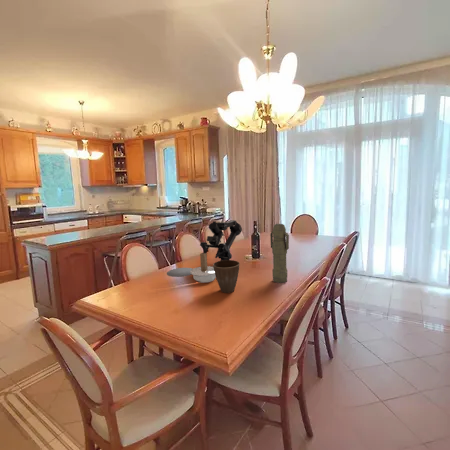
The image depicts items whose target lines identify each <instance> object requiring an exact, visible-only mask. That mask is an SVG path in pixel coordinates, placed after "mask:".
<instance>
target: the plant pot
mask: <svg viewBox="0 0 450 450" xmlns="http://www.w3.org/2000/svg"><path fill="white" fill-rule="evenodd" d="M212 267H214V272H215V276H216V278H215V280H216V282H217V284H218V287H219V289H220V291H221V293H224V294H230V293H233V292H234V291H235V288H236V286H237V282H238V279H239V278H238V277H239V271H240V262H239V261H238V260H234V259H230V260H222V261H220V260H218V261H215V262H213V264H212Z"/></svg>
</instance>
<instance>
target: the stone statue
mask: <svg viewBox="0 0 450 450" xmlns="http://www.w3.org/2000/svg"><path fill="white" fill-rule="evenodd" d="M269 236H270V238H269V239H270V248H271V251H272V258H273V259H272V264H273V265H272V267H273V268H272V282H274V283H277V284H285V283H287V282H288V268H287V254H288V251H289V248H290V247H289V244H290V243H289V241H290V240H289V239H290V235H289V232H287V228H286V227H285V224H283V223H275V224H274V225H273V227H272V231H271V232H270V234H269Z"/></svg>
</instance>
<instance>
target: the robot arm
mask: <svg viewBox="0 0 450 450" xmlns="http://www.w3.org/2000/svg"><path fill="white" fill-rule="evenodd" d="M228 228H229V231H230V234H229V235H228V237H227V239H226V241H225V243H222V241H221V240H222V237H224V236H225V235H224V232H223V231H227V230H228ZM208 229H209V230H210V232H211V234H213V235H212V236H211V235H207V237H206V241H205V242H204V241H200V244H199V246H200V247H201V248H202V250H203V251H202V253H208V252H209V248H212V249H213V248H214V249H217V251H216V254H215V259H217V258H218V259H220V260H219V261H222V260H232V257H233V255H232V253H231V247H232V245H233V243H234V241H235V239H236V238H237V236H239V235H240V234H241V233H242V232H243V227H242V225H241V224H240V223H238V222H237V220H231V219H230V220H227V221H223V222H222V221H221V222H219V221H218V222H217V221H215V220H214V221H212V222H211V223H210V224H209V225H208Z"/></svg>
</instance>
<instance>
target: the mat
mask: <svg viewBox="0 0 450 450" xmlns="http://www.w3.org/2000/svg"><path fill="white" fill-rule="evenodd" d="M192 269H194V268H191V267H178V268H177V267H176V268H173V269H170V270H169V271H167V272H166V275H167V276H168V277H174V278H182V277H189V276H193V275H192V274H191V273H190V271H191V270H192Z"/></svg>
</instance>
